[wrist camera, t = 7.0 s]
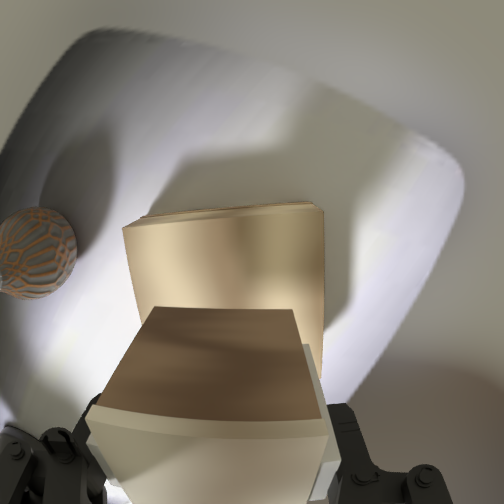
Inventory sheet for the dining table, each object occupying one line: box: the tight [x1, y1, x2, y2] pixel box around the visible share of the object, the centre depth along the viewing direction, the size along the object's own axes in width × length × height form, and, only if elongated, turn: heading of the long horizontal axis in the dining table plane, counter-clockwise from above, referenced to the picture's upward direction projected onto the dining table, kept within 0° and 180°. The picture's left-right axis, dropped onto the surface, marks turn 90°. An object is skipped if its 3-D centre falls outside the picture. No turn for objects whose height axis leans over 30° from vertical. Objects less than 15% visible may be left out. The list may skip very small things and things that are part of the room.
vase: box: [0, 207, 77, 300], centre depth 18 cm, size 7×7×9 cm
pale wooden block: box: [85, 306, 329, 504], centre depth 10 cm, size 6×6×7 cm
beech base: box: [122, 202, 324, 379], centre depth 21 cm, size 12×12×5 cm
